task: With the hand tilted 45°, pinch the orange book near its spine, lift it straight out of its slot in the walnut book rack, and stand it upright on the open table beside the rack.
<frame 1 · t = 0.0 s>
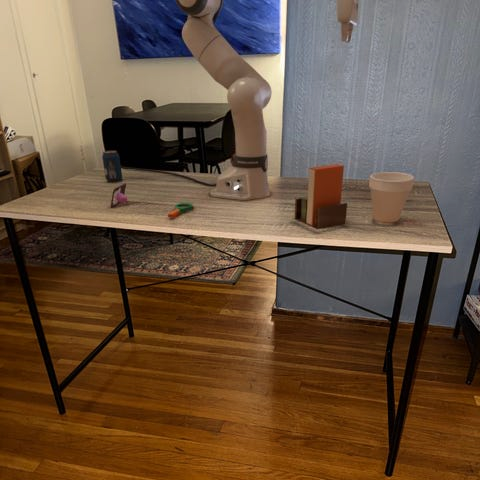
hand: (346, 42, 138), 48 cm above the table, tool pointing down, fingers open, 8 cm apart
rack: (319, 224, 138), on the table
soda can: (114, 181, 195), on the table
flower pot: (385, 222, 138), on the table
book: (322, 221, 136), point 1 cm above the table, touching rack
game card: (122, 204, 163), on the table
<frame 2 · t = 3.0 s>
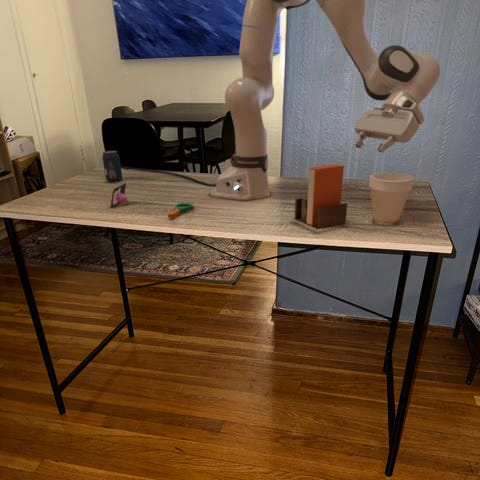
hand: (368, 148, 133), 21 cm above the table, tool tilted 45°, fingers open, 8 cm apart
nothing on the table moved.
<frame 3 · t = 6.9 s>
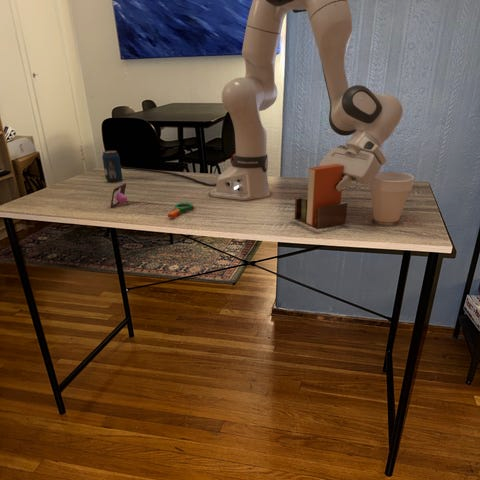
hand: (331, 188, 132), 11 cm above the table, tool tilted 45°, fingers closed on book, 3 cm apart
book: (322, 221, 136), point 1 cm above the table, touching gripper, rack
everything else where it was.
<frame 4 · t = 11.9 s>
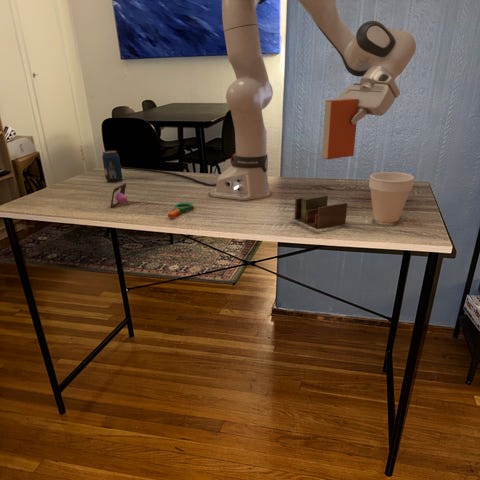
hand: (346, 122, 137), 27 cm above the table, tool tilted 45°, fingers closed on book, 3 cm apart
book: (337, 156, 141), point 17 cm above the table, touching gripper
everything else where it was.
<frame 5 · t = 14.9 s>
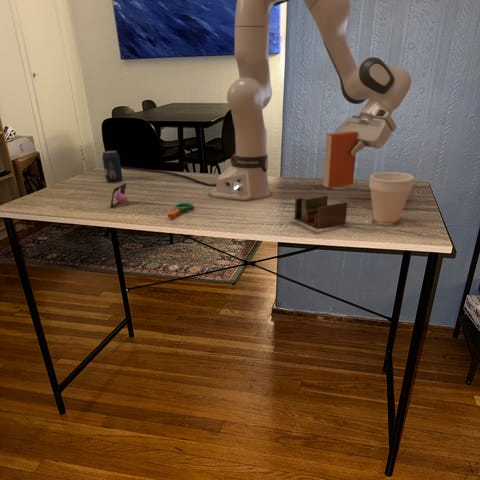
hand: (346, 153, 145), 17 cm above the table, tool tilted 45°, fingers closed on book, 3 cm apart
book: (338, 185, 149), point 8 cm above the table, touching gripper
everything else where it was.
when the fingers open (10 cm above the table, at t = 17.2 s): book stays where it is, on the table.
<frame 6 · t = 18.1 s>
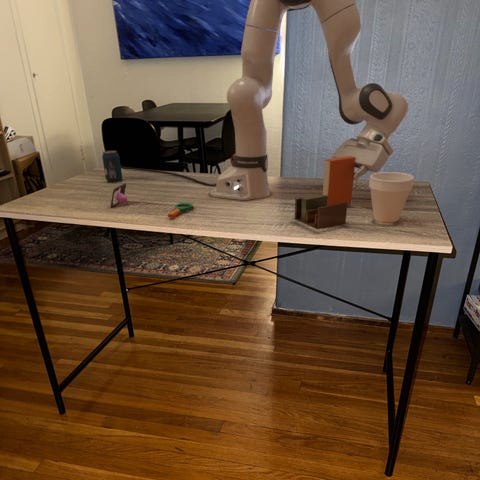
hand: (344, 176, 148), 10 cm above the table, tool tilted 45°, fingers open, 8 cm apart
book: (336, 208, 153), on the table
everything else where it was.
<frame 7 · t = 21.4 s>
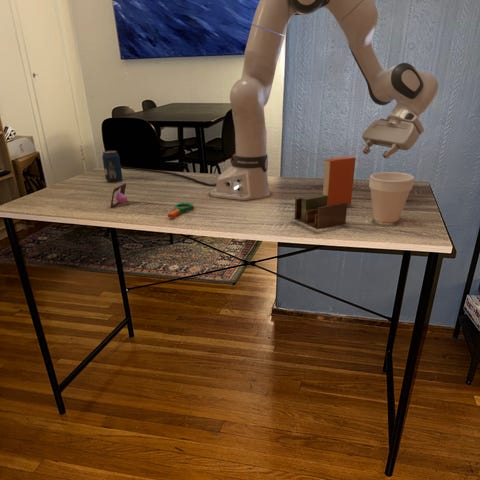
hand: (374, 155, 151), 15 cm above the table, tool tilted 45°, fingers open, 8 cm apart
nothing on the table moved.
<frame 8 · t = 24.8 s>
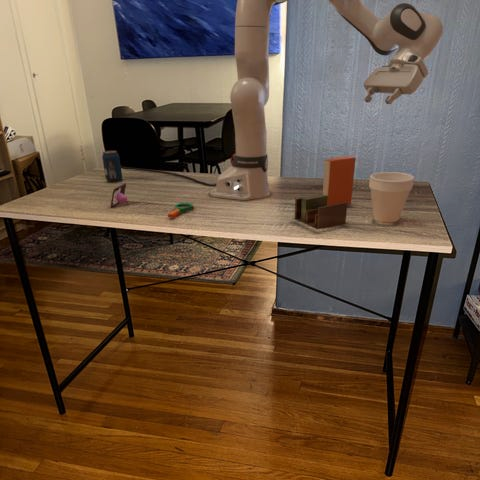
hand: (376, 101, 145), 31 cm above the table, tool tilted 45°, fingers open, 8 cm apart
nothing on the table moved.
at the end: book inside the target area (0.1 cm from its centre), on the table; book touching table; the gripper is holding nothing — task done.
